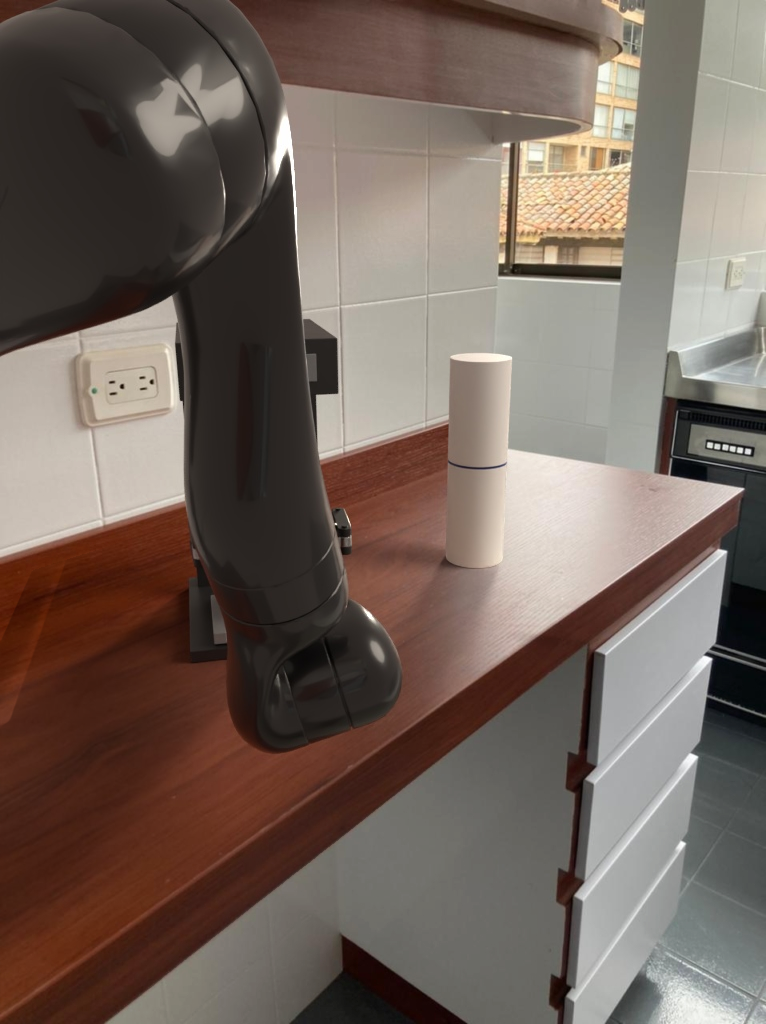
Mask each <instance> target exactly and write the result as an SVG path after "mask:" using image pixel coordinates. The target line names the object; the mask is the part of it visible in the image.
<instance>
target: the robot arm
mask: <svg viewBox="0 0 766 1024" xmlns="http://www.w3.org/2000/svg"><path fill="white" fill-rule="evenodd" d="M290 127H291V126H290V119H289V113H288V106H287V101H286V97H285V93H284V89H283V86H282V82H281V79H280V76H279V73H278V71H277V68H276V66H275V63H274V60H273V57H272V56H271V54H270V52H269V51H268V49H267V47H266V45H265V43H264V41H263V39H262V37H261V36H260V34H259V33H258V31H257V30H256V29H255V27H254V26H253V24H251V22H250V21H249V19H248V18H247V17H246V16H245V14H244V13H243V12H242V10H240V9H239V7H237V5H235V4H234V3H233V2H232V1H231V0H55V1H53V2H50V3H47V4H45V5H43V6H41V7H38V8H34V9H32V10H27V11H24V12H22V13H19V14H17V15H15V16H12V17H10V18H8V19H5V20H3V21H1V22H0V358H2V357H4V356H6V355H9V354H11V353H15V352H17V351H19V350H20V351H21V350H23V349H27V348H30V347H32V346H36V345H40V344H43V343H46V342H48V341H52V340H55V339H58V338H63V337H65V336H68V335H72V334H75V333H79V332H82V331H87V330H89V329H93V328H96V327H100V326H102V325H106V324H109V323H112V322H115V321H118V320H122V319H125V318H127V317H130V316H133V315H136V314H138V313H141V312H143V311H146V310H148V309H150V308H153V307H154V306H156V305H159V304H160V303H162V302H164V301H166V300H167V299H169V298H170V297H171V298H172V302H173V306H174V312H175V316H176V320H177V322H178V326H179V332H180V339H181V348H182V357H183V367H184V413H183V489H184V490H183V492H184V493H183V494H184V501H185V502H184V503H185V504H184V505H185V511H186V516H187V526H188V532H189V549H190V553H191V558H192V563H193V567H195V568H196V569H197V568H204V571H205V573H206V576H207V578H208V581H209V583H210V585H211V588H212V590H213V593H214V595H215V598H216V600H217V602H218V605H219V608H220V610H221V613H222V616H223V619H224V624H225V629H226V636H227V659H226V666H225V667H226V669H225V689H226V700H227V701H226V702H227V706H228V711H229V715H230V719H231V721H232V724H233V727H234V728H235V730H236V732H237V734H238V735H239V736H240V737H241V739H242V740H243V741H244V742H245V743H247V744H248V745H249V746H250V747H251V748H253V749H255V750H257V751H260V752H263V753H265V754H270V755H280V754H286V753H290V752H294V751H296V750H300V749H302V748H304V747H308V746H310V745H312V744H315V743H318V742H322V741H325V740H326V739H330V738H332V737H337V736H338V735H342V734H344V733H348V732H350V731H351V730H356V729H359V728H362V727H365V726H368V725H370V724H373V723H375V722H377V721H379V720H381V719H383V718H384V717H385V716H387V715H388V714H389V713H390V712H391V711H392V710H393V708H394V707H395V705H396V704H397V702H398V700H399V698H400V694H401V691H402V687H403V678H404V677H403V666H402V662H401V659H400V655H399V652H398V649H397V646H396V645H395V643H394V640H393V639H392V637H391V635H390V634H389V633H388V631H387V629H386V628H385V627H384V625H382V623H381V622H380V621H379V620H378V619H377V617H376V616H375V615H374V614H373V613H372V612H371V611H369V610H368V609H367V608H366V607H365V606H363V605H362V604H361V603H360V602H357V601H356V600H355V599H353V598H351V597H350V585H349V584H350V583H349V579H348V573H347V568H346V565H345V560H344V557H343V556H348V555H352V553H353V538H352V536H353V535H352V533H353V531H352V529H353V528H352V524H351V522H350V519H349V517H348V514H347V512H346V510H345V508H344V507H339V506H338V507H333V508H332V509H331V504H330V500H329V497H328V493H327V488H326V487H327V486H326V483H325V479H324V475H323V471H322V466H321V465H322V464H321V459H320V453H319V446H318V447H317V441H316V434H315V427H314V420H313V413H312V405H311V397H310V388H309V378H308V369H307V359H306V349H305V336H304V324H303V319H304V314H303V313H304V312H303V301H302V290H301V279H300V278H301V277H300V268H299V267H300V265H299V249H298V232H297V230H298V229H297V207H296V186H295V185H296V184H295V170H294V169H295V167H294V155H293V145H292V135H291V128H290Z"/></svg>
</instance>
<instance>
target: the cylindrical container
mask: <svg viewBox="0 0 766 1024" xmlns="http://www.w3.org/2000/svg"><path fill="white" fill-rule="evenodd" d="M512 367H513V357H512V356H511V355H507V354H502V353H492V352H467V353H457V354H453V355H450V357H449V387H448V388H449V392H448V394H449V395H448V433H447V434H448V435H447V438H448V439H447V475H446V478H447V479H446V522H445V525H446V526H445V559H446V561H448V562H449V563H451V564H452V565H454V566H458V567H462V568H468V569H487V568H491V567H494V566H495V567H496V566H497V565H499V564H501V562H502V561H503V557H504V537H505V535H504V534H505V517H506V516H505V515H506V495H507V474H508V473H507V472H508V456H509V455H508V453H509V429H510V413H511V412H510V411H511V391H512V389H511V387H512V371H513V369H512Z"/></svg>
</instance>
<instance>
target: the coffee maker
mask: <svg viewBox="0 0 766 1024" xmlns="http://www.w3.org/2000/svg"><path fill="white" fill-rule="evenodd" d="M303 324H304V336H305V349H306V359H307V369H308V378H309V388H310V397H311V405H312V413H313V420H314V427H315V434H316V441H317V447H318V448H319V446H318V445H319V442H318V441H319V440H318V411H317V410H318V409H317V408H318V405H317V396H322V395H339V390H340V389H339V350H338V349H339V348H338V347H339V346H338V337H337V336H335V335H333V334H332V333H331V332H329V331H327V330H326V329H325V328H323V326H320V325H319V324H317V323H316V322H315V321H313V320H312V319H310V318H303ZM174 347H175V349H174V350H175V361H176V373H177V374H176V375H177V382H178V384H177V385H178V397H179V402H182V413H183V414H184V367H183V357H182V348H181V339H180V332H179V326H178V321H177V322H176V323H175V338H174ZM188 608H189V609H188V613H189V614H188V615H189V656H190V663H192V664H193V663H202V662H213V661H220V660H227V636H226V629H225V624H224V619H223V616H222V613H221V610H220V608H219V605H218V602H217V600H216V598H215V595H214V593H213V590H212V588H211V585H210V583H209V581H208V578H207V576H206V573H205V571H204V568H196V576H193V577H188Z"/></svg>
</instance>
